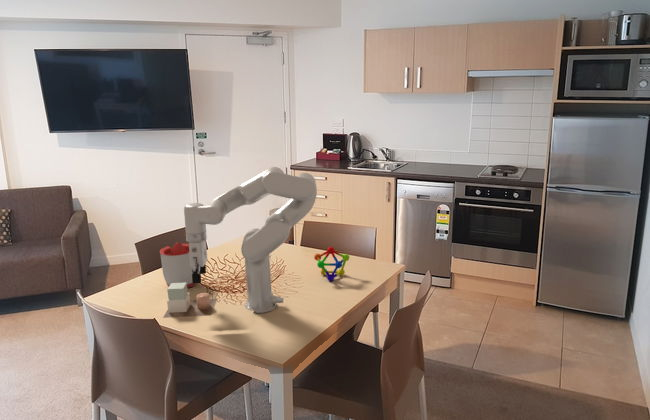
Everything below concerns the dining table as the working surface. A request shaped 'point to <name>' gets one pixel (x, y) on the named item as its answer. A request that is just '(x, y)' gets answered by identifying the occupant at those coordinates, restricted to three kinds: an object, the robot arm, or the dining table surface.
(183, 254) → the citrus juicer
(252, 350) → the dining table surface
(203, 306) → the pink domed cylinder
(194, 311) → the serving board
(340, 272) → the educational toy
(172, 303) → the cream block
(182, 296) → the sage block
